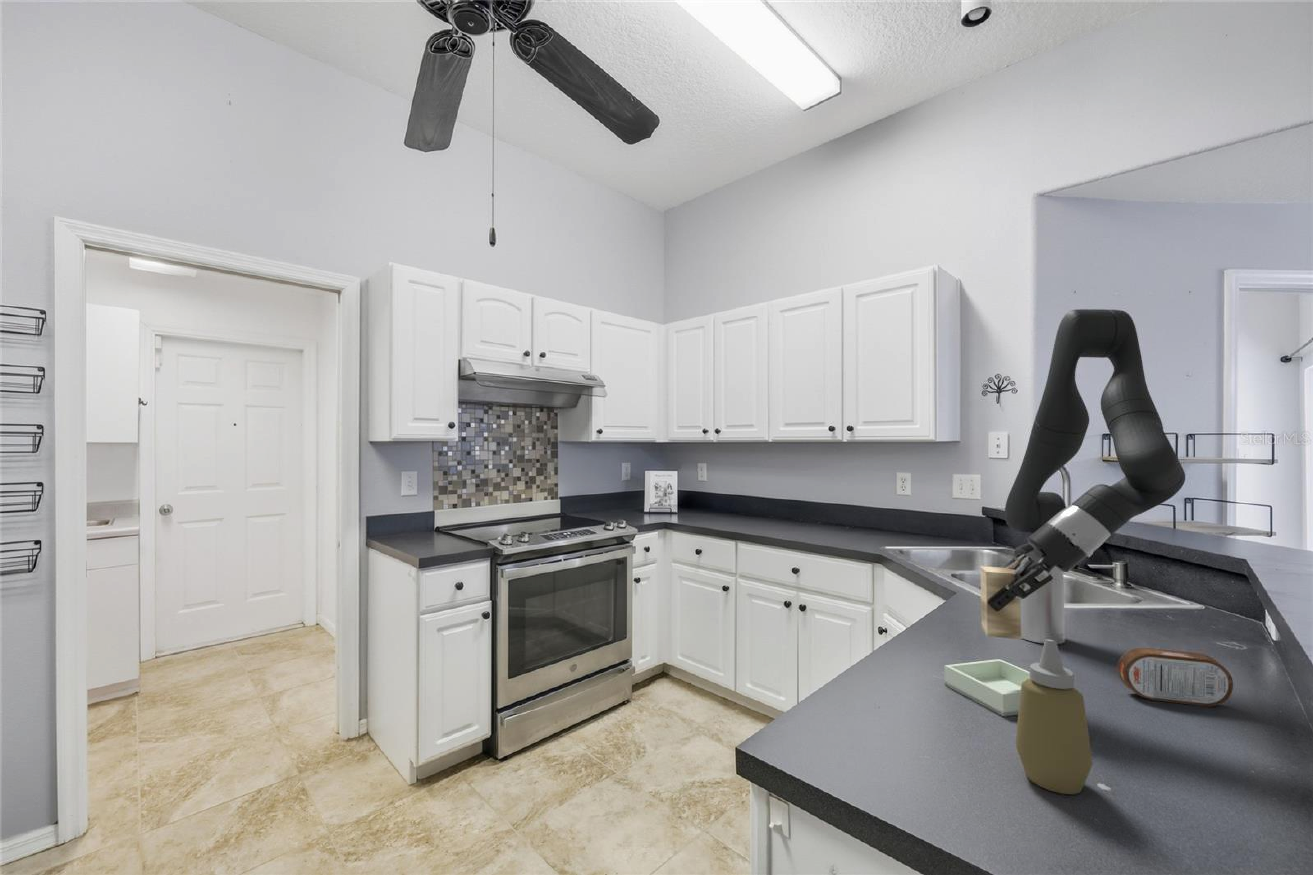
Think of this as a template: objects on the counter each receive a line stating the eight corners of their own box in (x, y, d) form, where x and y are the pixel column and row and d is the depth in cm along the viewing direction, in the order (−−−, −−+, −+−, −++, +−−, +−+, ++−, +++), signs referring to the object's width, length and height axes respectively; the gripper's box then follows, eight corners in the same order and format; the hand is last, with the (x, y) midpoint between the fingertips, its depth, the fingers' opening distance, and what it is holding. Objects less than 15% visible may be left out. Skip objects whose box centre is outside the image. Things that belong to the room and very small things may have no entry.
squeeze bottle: (1001, 765, 75) (999, 631, 75) (1057, 762, 75) (1054, 629, 76) (1048, 803, 67) (1046, 653, 67) (1110, 800, 67) (1107, 651, 68)
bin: (944, 684, 100) (944, 665, 100) (999, 677, 103) (999, 659, 104) (1003, 716, 88) (1002, 694, 88) (1063, 707, 91) (1063, 686, 92)
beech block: (987, 636, 95) (986, 571, 95) (981, 627, 99) (980, 566, 100) (1021, 639, 93) (1019, 573, 93) (1013, 630, 98) (1012, 568, 98)
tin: (1225, 704, 93) (1224, 653, 93) (1237, 712, 90) (1236, 660, 90) (1116, 691, 98) (1115, 643, 98) (1125, 698, 95) (1124, 649, 95)
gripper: (1036, 516, 101) (963, 578, 105) (1063, 526, 87) (978, 596, 91) (1072, 547, 99) (996, 608, 103) (1105, 562, 85) (1016, 632, 89)
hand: (988, 602), depth 97 cm, fingers closed on beech block, 5 cm apart
